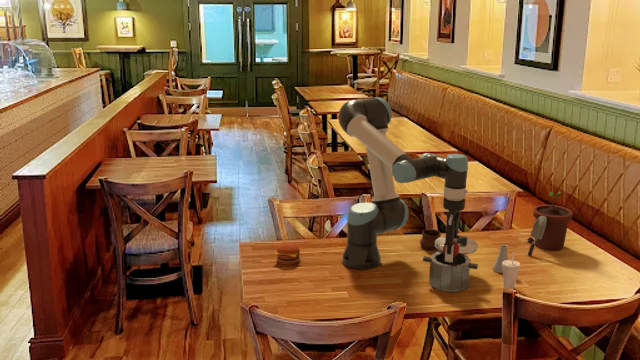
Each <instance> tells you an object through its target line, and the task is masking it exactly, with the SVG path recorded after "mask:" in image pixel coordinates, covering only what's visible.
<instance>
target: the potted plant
mask: <svg viewBox="0 0 640 360" xmlns="http://www.w3.org/2000/svg"><path fill="white" fill-rule="evenodd" d="M561 192H562V191H558V192H557V193H556V194H555V195H554V192H553V191H551V192H549V194H548V197H552V198H553V203H552V204H539V205H535V206H534V207H533V208H532V209H533V212H532V216H533V218H535V222H534V223H533V226H532V229H531V233H530V236H529V237H528V238H527V243H529V244H530V247H529V250H528V253H527V256H529V257H531V256H533V255H532V254H533V251H534V249H535V247H536V248H538V249H540V250H542V251H547V252H559V251H563V249H564V248H565V240H566V235H567V231H568V227H569V222H571V221H572V220H573V215H574V213H573V212H574V211H572V210H571V209H569V208H567V207H564V206H561V205H555V201H556V197H559V196H561V195H562V193H561Z"/></svg>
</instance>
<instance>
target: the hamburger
mask: <svg viewBox="0 0 640 360" xmlns="http://www.w3.org/2000/svg"><path fill="white" fill-rule="evenodd" d="M301 251H302V248H301V247H300V246H299V245H297V244H295V243H290V242H289V243H287V242H286V243H283V244H281V245H279V246H277V247H276V252H274V256H275V255H276V256H277V258H276V261H278V263H280V264H282V265H293V264H297V263H298V262H300V255H301V254H300V253H301Z"/></svg>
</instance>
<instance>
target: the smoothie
mask: <svg viewBox="0 0 640 360" xmlns="http://www.w3.org/2000/svg"><path fill="white" fill-rule="evenodd" d="M514 259H515V251H514V252H513V251H512V257H511V259H508V260H504V261H503V262H502V266H503V273H502V275H503V276H502V278H503V288H504V289H505V288H510V289H513V290H514V289H515V287H516V283H517V279H518V273H519V269H520V268H521V262H519V261H517V260H514Z"/></svg>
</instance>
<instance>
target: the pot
mask: <svg viewBox="0 0 640 360" xmlns="http://www.w3.org/2000/svg"><path fill="white" fill-rule="evenodd" d="M422 262H426V263H429V276H428V281H429V285H430V286H431V288H433V289H435V290H437V291H440V292H444V293H461V292H463V291H466V290H467V289H468V288H469V283H470V273H471V269H473V270H478V268H479V264H478V263H473V262H472V263H471V258H470V257H468V255H467V254H465V255H457V256H455V257H454V258H453V262H446V261H445V254H444V252H442V251H436V252H434V253H432V254H431V256H426V255H425V256H423V258H422Z"/></svg>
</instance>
